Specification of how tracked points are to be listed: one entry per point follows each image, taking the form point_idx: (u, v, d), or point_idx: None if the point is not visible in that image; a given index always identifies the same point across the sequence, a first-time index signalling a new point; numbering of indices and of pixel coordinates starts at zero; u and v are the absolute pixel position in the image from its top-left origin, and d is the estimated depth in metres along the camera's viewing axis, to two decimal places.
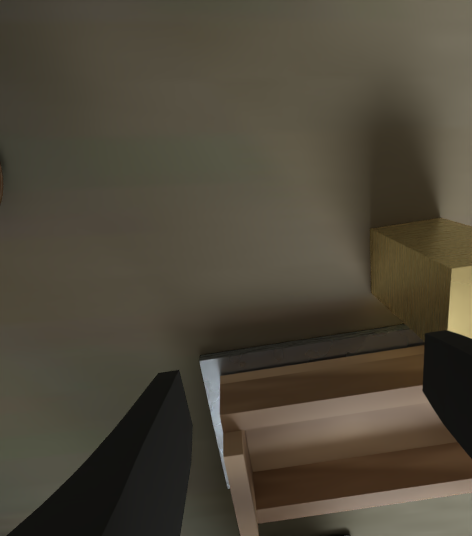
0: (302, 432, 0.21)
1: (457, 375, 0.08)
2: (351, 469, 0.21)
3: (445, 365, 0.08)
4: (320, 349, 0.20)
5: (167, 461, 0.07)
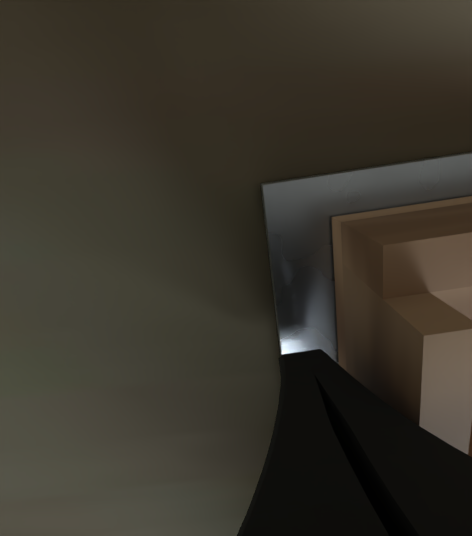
0: None
1: None
2: None
3: None
4: None
5: None
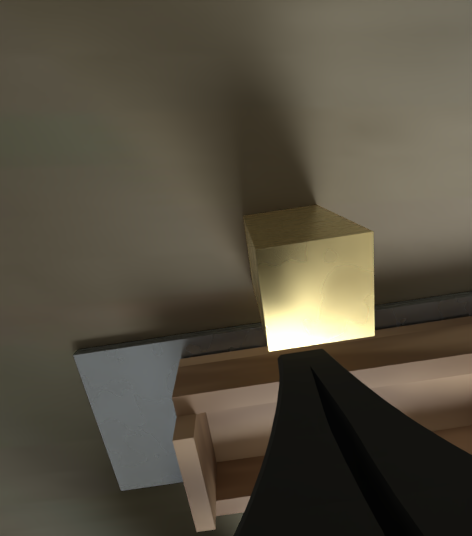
0: (268, 419, 0.20)
1: None
2: None
3: None
4: (201, 343, 0.19)
5: None
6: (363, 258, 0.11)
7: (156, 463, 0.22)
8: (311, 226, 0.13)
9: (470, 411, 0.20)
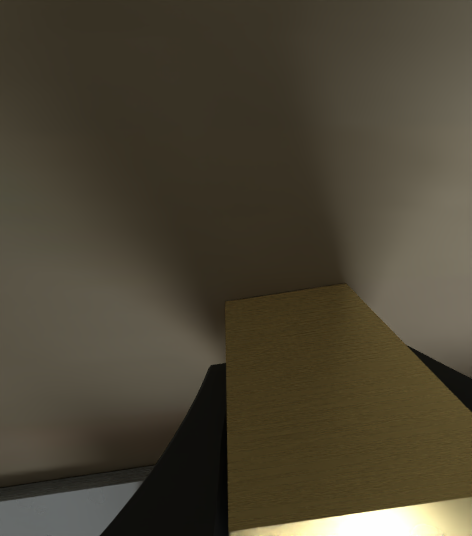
0: None
1: None
2: None
3: None
4: None
5: None
6: None
7: None
8: (356, 390, 0.06)
9: None
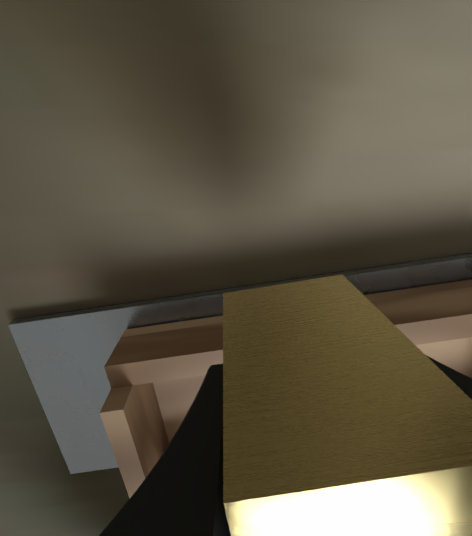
0: None
1: None
2: None
3: None
4: (147, 313, 0.18)
5: None
6: None
7: (106, 444, 0.20)
8: (350, 372, 0.06)
9: None
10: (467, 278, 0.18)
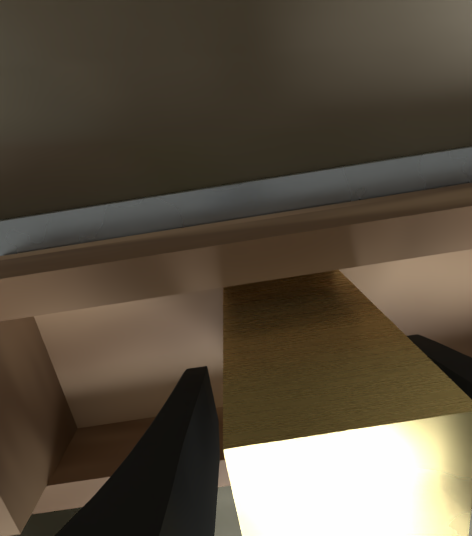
0: (148, 358, 0.13)
1: None
2: None
3: None
4: (30, 230, 0.12)
5: (202, 456, 0.07)
6: (455, 457, 0.05)
7: None
8: (336, 348, 0.07)
9: (471, 345, 0.13)
10: None
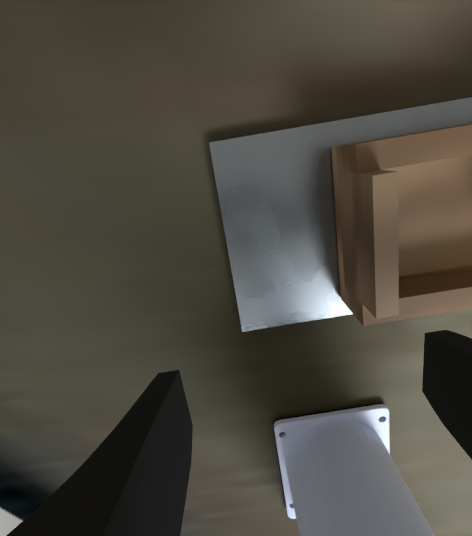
0: (428, 223, 0.17)
1: (457, 375, 0.08)
2: None
3: (445, 365, 0.08)
4: (356, 127, 0.17)
5: (167, 461, 0.07)
6: None
7: (285, 294, 0.19)
8: None
9: None
10: None
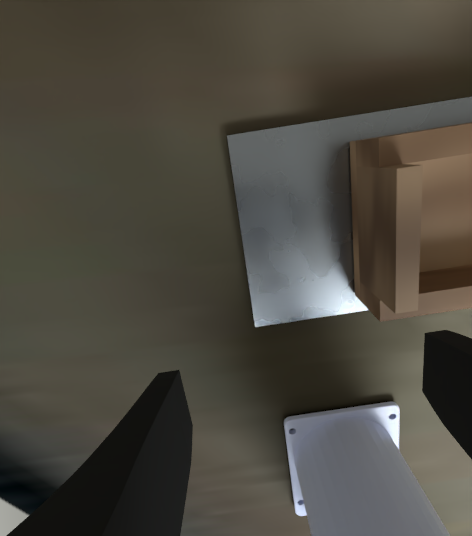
0: (445, 219, 0.17)
1: (457, 375, 0.08)
2: None
3: (445, 365, 0.08)
4: (375, 122, 0.17)
5: (167, 461, 0.07)
6: None
7: (299, 290, 0.19)
8: None
9: None
10: None
